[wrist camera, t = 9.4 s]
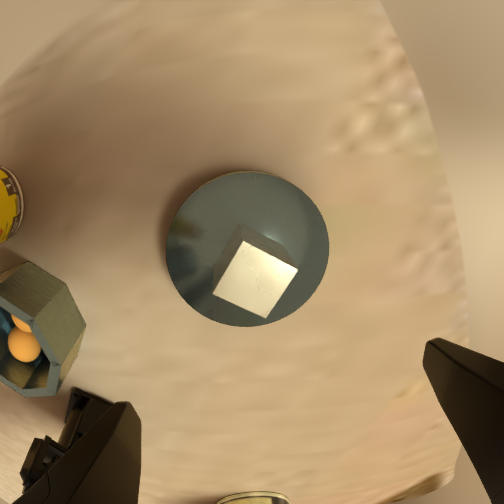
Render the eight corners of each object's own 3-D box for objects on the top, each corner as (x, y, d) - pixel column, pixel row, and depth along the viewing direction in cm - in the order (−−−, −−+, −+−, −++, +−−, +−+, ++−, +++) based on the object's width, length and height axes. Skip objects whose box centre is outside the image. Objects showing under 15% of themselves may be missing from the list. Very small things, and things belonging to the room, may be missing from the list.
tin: (72, 374, 23) (52, 413, 18) (-4, 326, 21) (-32, 357, 16) (94, 300, 20) (68, 338, 16) (5, 245, 18) (-33, 270, 14)
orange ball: (50, 325, 20) (33, 347, 18) (21, 307, 20) (2, 326, 17) (56, 296, 20) (38, 317, 17) (26, 277, 19) (5, 295, 16)
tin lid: (271, 330, 23) (284, 381, 17) (148, 273, 20) (126, 316, 15) (346, 217, 20) (384, 243, 15) (216, 140, 18) (214, 139, 13)
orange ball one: (44, 353, 21) (30, 375, 18) (17, 336, 20) (1, 356, 18) (49, 329, 20) (33, 350, 18) (20, 311, 20) (2, 330, 17)
